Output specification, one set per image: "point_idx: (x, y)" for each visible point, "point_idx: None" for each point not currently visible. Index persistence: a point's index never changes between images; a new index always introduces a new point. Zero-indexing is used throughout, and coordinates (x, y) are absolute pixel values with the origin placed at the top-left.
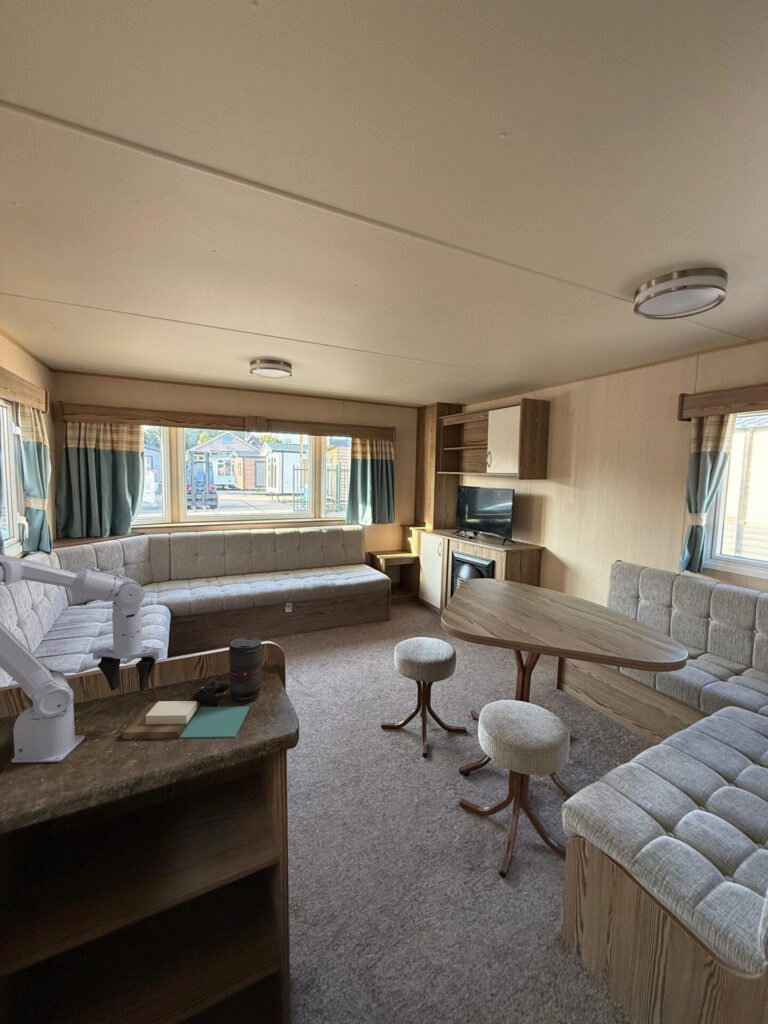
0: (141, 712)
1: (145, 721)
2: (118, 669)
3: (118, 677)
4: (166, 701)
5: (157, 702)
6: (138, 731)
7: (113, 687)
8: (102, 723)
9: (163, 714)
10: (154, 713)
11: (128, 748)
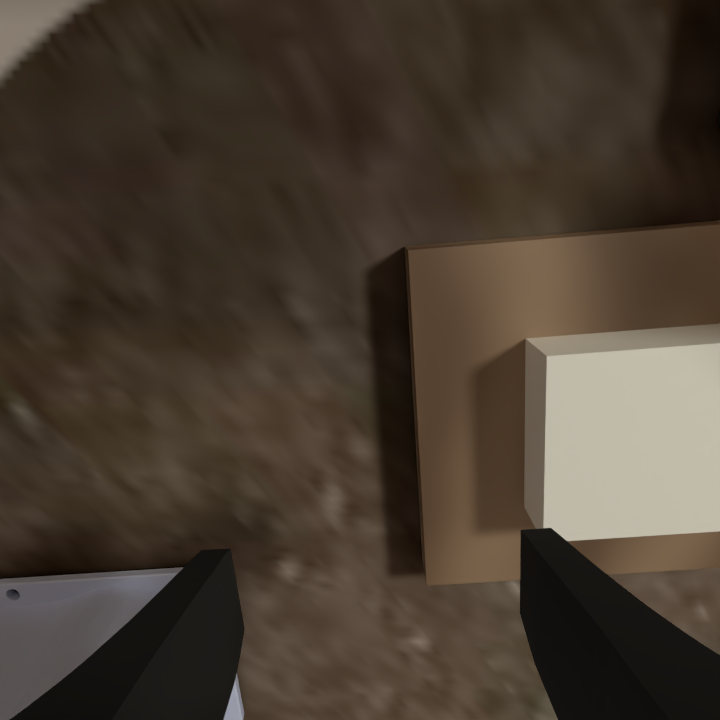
0: (420, 385)
1: (506, 481)
2: (136, 710)
3: (191, 620)
4: (617, 355)
5: (547, 373)
6: (517, 573)
7: (236, 663)
8: (200, 433)
9: (666, 521)
10: (594, 514)
11: (499, 620)
